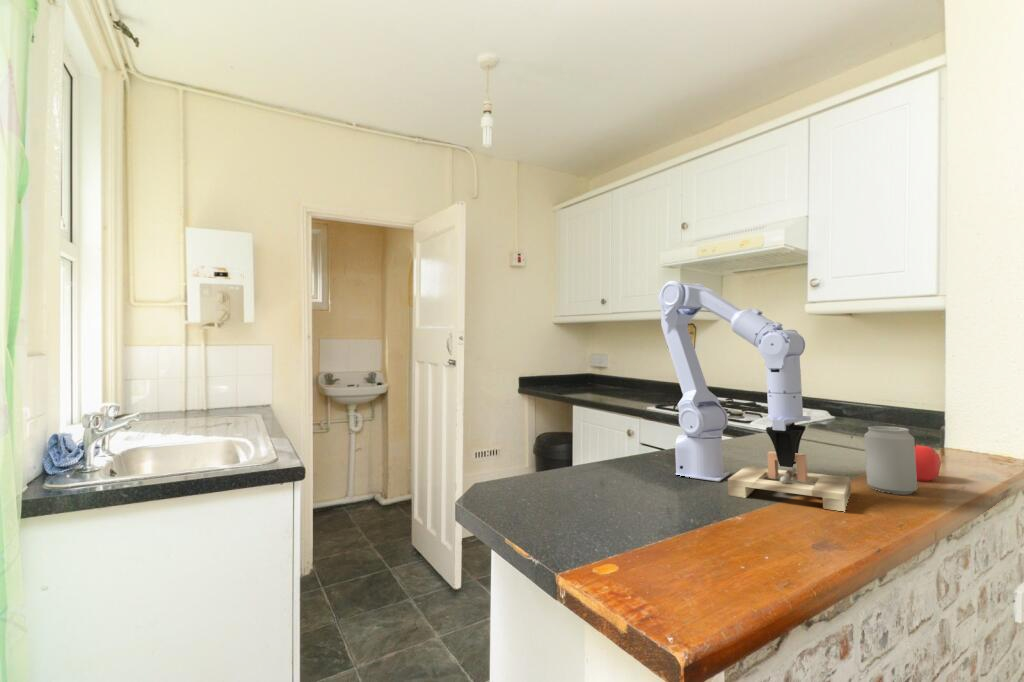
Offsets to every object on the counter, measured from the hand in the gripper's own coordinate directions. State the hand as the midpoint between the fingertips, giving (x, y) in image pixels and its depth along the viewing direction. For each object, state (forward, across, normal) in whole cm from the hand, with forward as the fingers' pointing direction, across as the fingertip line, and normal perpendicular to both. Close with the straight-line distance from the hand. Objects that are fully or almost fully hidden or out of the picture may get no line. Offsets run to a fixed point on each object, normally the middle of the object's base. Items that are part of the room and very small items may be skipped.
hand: (788, 464), depth 88 cm
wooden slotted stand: (+6, 0, 0) cm, 6 cm away
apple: (+6, +28, -19) cm, 34 cm away
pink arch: (+3, 0, 0) cm, 3 cm away
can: (+6, +14, -15) cm, 21 cm away
